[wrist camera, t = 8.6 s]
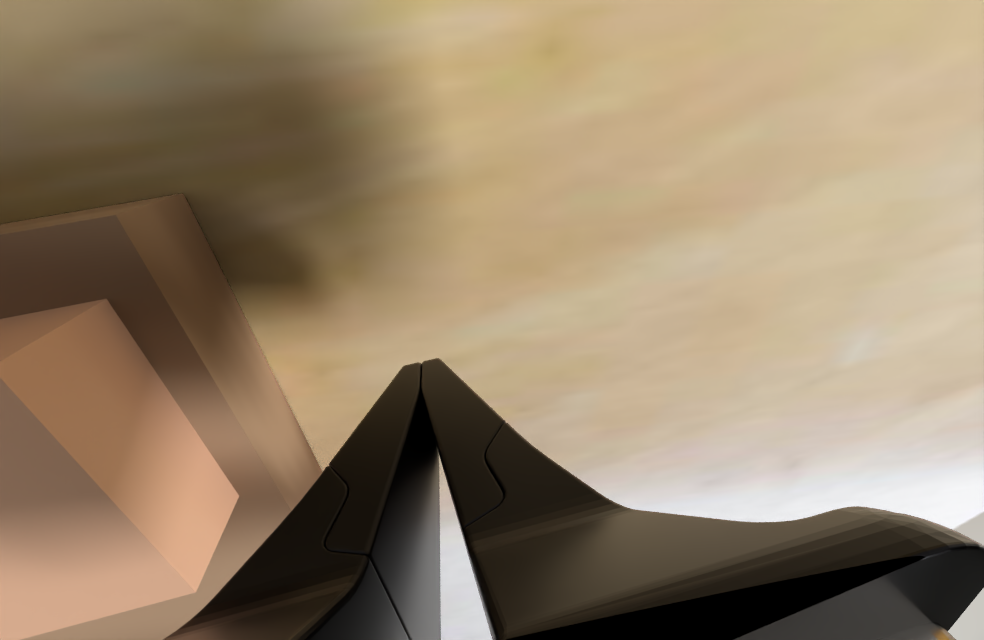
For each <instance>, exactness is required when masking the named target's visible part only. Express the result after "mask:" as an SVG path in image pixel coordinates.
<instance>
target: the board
mask: <svg viewBox="0 0 984 640" xmlns="http://www.w3.org/2000/svg"><path fill="white" fill-rule="evenodd" d="M102 299H107V300H108V302H109V303H110V305H111V306H112V308H113V309H114V311H115V312H116V314H117V315H118V316H119V318H120V319H121V321H122V322H123V324H124V325H125V327H126V328H127V330H128V331H129V333H130V334H131V336H132V337H133V339H134V340H135V342H136V343H137V345H138V346H139V348H140V349H141V351H142V352H143V354H144V355H145V357H146V358H147V360H148V361H149V363H150V364H151V366H152V367H153V369H154V370H155V372H156V373H157V374H158V376H159V377H160V379H161V380H162V382H163V383H164V385H165V386H166V388H167V389H168V391H169V392H170V394H171V395H172V397H173V398H174V400H175V401H176V403H177V404H178V406H179V407H180V409H181V410H182V412H183V413H184V415H185V416H186V418H187V419H188V421H189V422H190V424H191V425H192V427H193V428H194V430H195V431H196V432H197V434H198V435H199V437H200V438H201V440H202V441H203V443H204V444H205V446H206V447H207V449H208V450H209V452H210V453H211V455H212V456H213V458H214V459H215V461H216V462H217V464H218V465H219V467H220V468H221V470H222V471H223V473H224V474H225V476H226V477H227V479H228V480H229V482H230V483H231V485H232V486H233V488H234V489H235V490H236V492H237V493H238V495H239V498H238V500H237V502H236V504H235V506H234V509H233V511H232V513H231V515H230V518H229V520H228V522H227V524H226V527H225V529H224V531H223V533H222V535H221V538H220V540H219V542H218V544H217V547H216V549H215V551H214V553H213V555H212V558H211V560H210V562H209V564H208V567H207V569H206V571H205V573H204V575H203V578H202V580H201V582H200V584H199V587H198V589H197V591H196V593H192V594H188V595H185V596H181V597H177V598H173V599H170V600H166V601H162V602H159V603H155V604H151V605H147V606H144V607H140V608H136V609H133V610H129V611H125V612H121V613H118V614H114V615H110V616H106V617H103V618H99V619H95V620H92V621H88V622H84V623H80V624H77V625H73V626H69V627H66V628H62V629H58V630H54V631H51V632H47V633H43V634H40V635H36V636H32V637H28V638H25V639H21V640H163V639H164V638H166V637H167V636H169V635H170V634H172V633H173V632H175V631H176V630H178V629H179V628H180V627H182V626H183V625H184V624H185V623H187V622H188V621H189V620H191V619H192V618H193V617H194V616H195V615H196V614H197V613H198V612H199V611H201V610H202V609H203V608H204V607H205V606H206V605H207V604H208V603H209V602H210V601H211V600H212V598H213V597H214V596H215V595H216V594H217V593H218V592H219V591H220V590H221V589H222V588H223V587H224V585H225V584H226V583H227V582H228V581H229V580H230V579H231V578H232V577H233V576H234V574H235V573H236V572H237V571H238V570H239V569H240V568H241V567H242V566H243V564H244V563H245V562H246V561H247V560H248V559H249V558H250V557H251V556H252V555H253V553H254V552H255V551H256V550H257V549H258V548H259V547H260V546H261V545H262V543H263V542H264V541H265V540H266V539H267V538H268V537H269V536H270V535H271V534H272V532H273V531H274V530H275V529H276V528H277V527H278V526H279V525H280V523H281V522H282V521H283V520H284V519H285V518H286V517H287V515H288V514H289V513H290V512H291V511H292V510H293V509H294V507H295V506H296V505H297V504H298V503H299V502H300V500H301V499H302V498H303V496H304V495H305V494H306V493H307V491H308V490H309V489H310V488H311V486H312V485H313V484H314V483H315V481H316V480H317V479H318V478H319V476H320V475H321V474H322V470H321V468H320V466H319V464H318V462H317V460H316V458H315V456H314V454H313V452H312V450H311V448H310V446H309V444H308V442H307V440H306V438H305V436H304V434H303V432H302V430H301V428H300V426H299V424H298V422H297V420H296V418H295V416H294V414H293V412H292V410H291V408H290V406H289V404H288V402H287V400H286V398H285V396H284V394H283V392H282V390H281V388H280V386H279V384H278V382H277V380H276V378H275V376H274V374H273V372H272V370H271V368H270V366H269V364H268V362H267V360H266V358H265V356H264V354H263V352H262V350H261V348H260V346H259V344H258V342H257V340H256V338H255V336H254V334H253V332H252V330H251V328H250V326H249V324H248V322H247V320H246V318H245V316H244V314H243V312H242V310H241V308H240V306H239V304H238V302H237V300H236V298H235V296H234V294H233V292H232V290H231V288H230V286H229V284H228V282H227V280H226V278H225V276H224V274H223V272H222V270H221V268H220V266H219V264H218V262H217V260H216V258H215V256H214V254H213V252H212V250H211V248H210V246H209V244H208V242H207V240H206V238H205V236H204V234H203V232H202V230H201V228H200V226H199V224H198V222H197V220H196V218H195V216H194V214H193V212H192V210H191V208H190V206H189V204H188V202H187V200H186V198H185V196H184V194H183V193H181V194H176V195H170V196H164V197H158V198H152V199H146V200H140V201H134V202H128V203H122V204H117V205H111V206H105V207H99V208H93V209H87V210H81V211H75V212H69V213H64V214H58V215H52V216H46V217H40V218H34V219H28V220H22V221H16V222H10V223H5V224H0V319H3V318H9V317H14V316H19V315H24V314H29V313H35V312H40V311H45V310H50V309H55V308H61V307H66V306H71V305H76V304H81V303H87V302H92V301H97V300H102Z"/></svg>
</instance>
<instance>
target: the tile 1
mask: <svg viewBox="0 0 984 640" xmlns="http://www.w3.org/2000/svg"><path fill="white" fill-rule="evenodd" d="M238 498H239V495H238V493H237V492H236V490H235V489H234V488H233V486H232V485H231V483H230V482H229V480H228V479H227V477H226V476H225V474H224V473H223V471H222V470H221V468H220V467H219V465H218V464H217V462H216V461H215V459H214V458H213V456H212V455H211V453H210V452H209V450H208V449H207V447H206V446H205V444H204V443H203V441H202V440H201V438H200V437H199V435H198V434H197V432H196V431H195V430H194V428H193V427H192V425H191V424H190V422H189V421H188V419H187V418H186V416H185V415H184V413H183V412H182V410H181V409H180V407H179V406H178V404H177V403H176V401H175V400H174V398H173V397H172V395H171V394H170V392H169V391H168V389H167V388H166V386H165V385H164V383H163V382H162V380H161V379H160V377H159V376H158V374H157V373H156V372H155V370H154V369H153V367H152V366H151V364H150V363H149V361H148V360H147V358H146V357H145V355H144V354H143V352H142V351H141V349H140V348H139V346H138V345H137V343H136V342H135V340H134V339H133V337H132V336H131V334H130V333H129V331H128V330H127V328H126V327H125V325H124V324H123V322H122V321H121V319H120V318H119V316H118V315H117V314H116V312H115V311H114V309H113V308H112V306H111V305H110V303H109V302H108V300H107V299H102V300H97V301H92V302H87V303H81V304H76V305H71V306H66V307H61V308H55V309H50V310H45V311H40V312H35V313H29V314H24V315H19V316H14V317H9V318H3V319H0V640H21V639H25V638H28V637H32V636H36V635H40V634H43V633H47V632H51V631H54V630H58V629H62V628H66V627H69V626H73V625H77V624H80V623H84V622H88V621H92V620H95V619H99V618H103V617H106V616H110V615H114V614H118V613H121V612H125V611H129V610H133V609H136V608H140V607H144V606H147V605H151V604H155V603H159V602H162V601H166V600H170V599H173V598H177V597H181V596H185V595H188V594H192V593H196V591H197V589H198V587H199V584H200V582H201V580H202V578H203V575H204V573H205V571H206V569H207V567H208V564H209V562H210V560H211V558H212V555H213V553H214V551H215V549H216V547H217V544H218V542H219V540H220V538H221V535H222V533H223V531H224V529H225V527H226V524H227V522H228V520H229V518H230V515H231V513H232V511H233V509H234V506H235V504H236V502H237V500H238Z"/></svg>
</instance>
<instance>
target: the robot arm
mask: <svg viewBox="0 0 984 640" xmlns="http://www.w3.org/2000/svg"><path fill="white" fill-rule="evenodd" d="M438 452H439V453H438ZM439 455H440V459H441V462H442V466H443V469H444V473H445V476H446V480H447V483H448V487H449V490H450V494H451V497H452V501H453V504H454V507H455V511H456V514H457V518H458V521H459V525H460V528H461V532H462V535H463V539H464V542H465V546H466V549H467V553H468V556H469V559H470V563H471V566H472V570H473V573H474V577H475V580H476V584H477V587H478V591H479V594H480V598H481V601H482V605H483V608H484V611H485V615H486V618H487V622H488V625H489V629H490V632H491V636H492V639H493V640H956V639H955V638H954V637H953V636H952V635H951V634H950V633H948V630H949V629H950V628H951V627H952V626H953V624H954V623H955V622H956V621H957V619H958V618H959V617H960V615H961V614H962V613H963V612H964V611H965V610H966V608H967V607H968V606H969V605H970V603H971V602H972V601H973V600H974V599H975V597H976V596H977V595H978V594H979V592H980V591H981V590H982V589H983V588H984V545H982V544H980V543H978V542H976V541H974V540H972V539H970V538H968V537H966V536H964V535H962V534H960V533H958V532H956V531H954V530H952V529H949V528H947V527H944V526H942V525H939V524H936V523H933V522H930V521H928V520H925V519H921V518H918V517H914V516H910V515H907V514H900V513H894V512H890V511H885V510H880V509H874V508H868V507H846V508H841V509H836V510H832V511H829V512H825V513H822V514H818V515H815V516H812V517H808V518H803V519H798V520H793V521H784V522H740V521H730V520H721V519H712V518H704V517H695V516H686V515H677V514H668V513H659V512H650V511H641V510H634V509H630V508H627V507H624V506H622V505H619V504H617V503H615V502H613V501H611V500H609V499H608V498H606V497H604V496H603V495H601V494H600V493H598V492H597V491H595V490H594V489H592V488H591V487H590V486H588V485H587V484H585V483H584V482H582V481H581V480H580V479H578V478H577V477H575V476H574V475H572V474H571V473H570V472H568V471H567V470H565V469H564V468H563V467H561V466H560V465H558V464H557V463H555V462H554V461H553V460H551V459H550V458H548V457H547V456H546V455H544V454H543V453H542V452H540V451H539V450H538V449H536V448H535V447H534V446H532V445H531V444H530V443H529V442H528V441H526V440H525V439H524V438H523V437H522V436H521V435H520V434H518V433H517V432H516V431H515V430H514V429H513V428H512V427H511V426H510V425H509V424H508V423H506V422H505V421H504V420H503V419H502V418H501V417H500V416H499V415H498V414H497V413H496V412H495V411H494V410H493V409H492V408H491V407H490V406H489V405H488V404H487V403H486V402H485V401H484V400H482V399H481V398H480V397H479V396H478V395H477V394H476V393H475V392H474V391H473V390H472V389H471V388H470V387H469V386H468V385H467V384H466V383H465V382H464V381H463V380H461V379H460V378H459V377H458V376H457V375H456V374H455V373H454V372H453V371H452V370H451V369H450V368H449V367H448V366H447V365H446V364H445V363H444V362H443V361H442V360H440V359H439V358H436V359H432V360H427V361H424V362H423V363H422V364H421V363H414V364H409V365H405V366H403V367H402V369H401V370H400V371H399V372H398V374H397V375H396V376H395V378H394V379H393V380H392V382H391V383H390V384H389V386H388V387H387V388H386V390H385V391H384V392H383V394H382V395H381V396H380V398H379V399H378V400H377V401H376V403H375V404H374V405H373V407H372V408H371V409H370V411H369V412H368V413H367V415H366V416H365V417H364V419H363V420H362V421H361V423H360V424H359V425H358V426H357V428H356V429H355V430H354V432H353V433H352V434H351V436H350V437H349V438H348V440H347V441H346V442H345V444H344V445H343V446H342V448H341V449H340V450H339V451H338V453H337V454H336V455H335V457H334V458H333V459H332V461H331V462H330V463H329V466H327V467H326V468H325V470H324V471H323V472H322V474H321V475H320V476H319V478H318V479H317V480H316V481H315V483H314V484H313V485H312V486H311V488H310V489H309V490H308V491H307V493H306V494H305V495H304V496H303V498H302V499H301V500H300V502H299V503H298V504H297V505H296V506H295V507H294V509H293V510H292V511H291V512H290V513H289V514H288V515H287V517H286V518H285V519H284V520H283V521H282V522H281V523H280V525H279V526H278V527H277V528H276V529H275V530H274V531H273V532H272V534H271V535H270V536H269V537H268V538H267V539H266V540H265V541H264V542H263V543H262V545H261V546H260V547H259V548H258V549H257V550H256V551H255V552H254V553H253V555H252V556H251V557H250V558H249V559H248V560H247V561H246V562H245V563H244V564H243V566H242V567H241V568H240V569H239V570H238V571H237V572H236V573H235V574H234V576H233V577H232V578H231V579H230V580H229V581H228V582H227V583H226V584H225V585H224V587H223V588H222V589H221V590H220V591H219V592H218V593H217V594H216V595H215V596H214V597H213V598H212V600H211V601H210V602H209V603H208V604H207V605H206V606H205V607H204V608H203V609H202V610H201V611H199V612H198V613H197V614H196V615H195V616H194V617H193V618H192V619H191V620H189V621H188V622H187V623H185V624H184V625H183V626H182V627H180V628H179V629H178V630H176V631H175V632H173V633H172V634H170V635H169V636H167V637H166V638H164V639H163V640H441V621H440V505H439Z"/></svg>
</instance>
